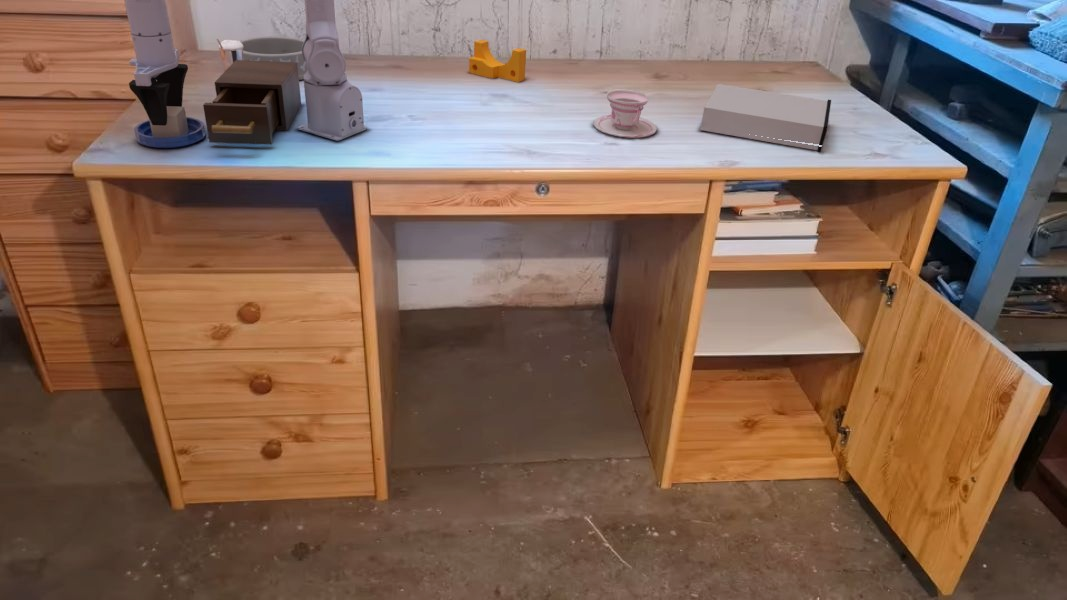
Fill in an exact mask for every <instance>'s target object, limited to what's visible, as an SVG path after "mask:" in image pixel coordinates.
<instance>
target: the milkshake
mask: <svg viewBox="0 0 1067 600" xmlns="http://www.w3.org/2000/svg"><path fill="white" fill-rule="evenodd" d="M240 41H241V40H236V39H235V40H234V39H223V40H222V41H220V40H219V38H216V42H217V43H218V51H219V54H220V59H221V62H222V66H223V72H225V71H226V70H227V69H228V68H229V67H230V66H231V65H232V63H233V62H234V61H235V60H244V46H243V44H242V43H241V42H240Z"/></svg>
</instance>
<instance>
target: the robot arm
mask: <svg viewBox="0 0 1067 600" xmlns="http://www.w3.org/2000/svg"><path fill="white" fill-rule="evenodd" d="M124 5H125V10H126V11H125V12H126V15H127V20H128V25H129V30H130V34H131V39H132V44H133V49H134V54H135V57H134V58H131V59H130V60H129V61H128V62H129V65H130V66H132V67H133V66H134V67H135V71H134V73H133V77H134V79H132V80H131V81H130V82H129V83H128V86H129V90H130V91H131V92H132V93H133V94H134V95H135V96H136V97H137V99H138V100H139V101H140V103H141V105H142V107H143V109H144V111H145V112H146V115H147V117H148V120H149V119H150V121H151V123H152V125H161V126H165V125H166V124H167V106H177V107H183V100H184V99H183V97H184V95H183V94H184V84H185V79H186V76H187V72H188V70H189V66H188V64H187V63H179V62H180V61H181V59H180V55H179V50H178V49H176V48H175V45H174V41H173V34H172V29H171V25H170V24H171V23H170V19H169V18H170V17H169V11H168V7H167V1H166V0H125V1H124ZM304 8H305V9H304V10H305V38H304V40H305V41H304V43H303V46H302V55H303V58H304V60H305V61H306V63H307V69H308V70H307V72H306V73H305V74H304V76H303V78H304V79H303V88H304V98H305V99H304V100H305V108H306V118H307V122H306V123H303V124H301V125H298V126H297V127H296V128H297V130H298V131H302V132H305V133H309V134H312V135H314V136H315V135H316V136H319V137H322V138H326V139H329V140H333V141H337V142H338V141H341V140H343V139H346V138H349V137H352V136H353V135H356V134H358V133H361V132H364V131H365V130H367V129H368V126H367V125H365V121H364V103H363V95H362V92H361V90H360V89H359V87H357V86H355V85H353V84H352V83H350V82H349V81H348V79H347V78H348V77H347V74H346V70H347V69H346V68H347V63H346V59H345V56H344V55H343V52H341V47H340V43H339V42H340V41H339V35H338V34H339V33H338V28H337V25H336V23H337V22H336V9H335V0H304Z"/></svg>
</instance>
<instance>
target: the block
mask: <svg viewBox="0 0 1067 600" xmlns="http://www.w3.org/2000/svg"><path fill="white" fill-rule="evenodd" d="M186 117H187V114H186V109H185V106H182V107H177V106H167V124H166V125H165V126H161V125H152V123H151V121H150V119H149V118H148V120H149V121H150V126H151V131H152V135H153V137H175V136H181V135H186V134H187V133H188V132H189V130H188V124H187V119H186Z"/></svg>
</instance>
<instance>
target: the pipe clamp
mask: <svg viewBox="0 0 1067 600" xmlns="http://www.w3.org/2000/svg"><path fill="white" fill-rule="evenodd" d="M510 55H511V56H510V58H509V59H508V61H507V62H506V63H502V62H500V61H499V60H497V59H496V58H495V57H494V56H493V54H492V52H491V50H490V46H489V41H488V40H484V39H480V40H479V39H478V40H475V41H474V42H473V56H472V57H469V58H468V59H469V60H468V73H469V74H472V75H476V76H481V77H485V78H489V79H492V80H493V79H496V78H499V79H504V80H508V81H512V82H515V83H520V82H523V81H525V80H526V63H527V62H526V60H527V49H525V48H520V47H517V48H515V49H512V51H511V54H510Z"/></svg>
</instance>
